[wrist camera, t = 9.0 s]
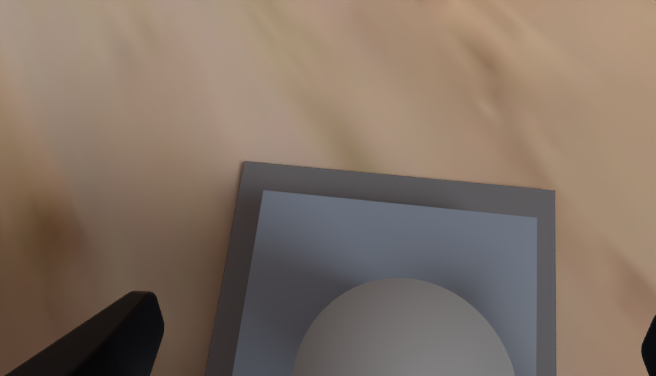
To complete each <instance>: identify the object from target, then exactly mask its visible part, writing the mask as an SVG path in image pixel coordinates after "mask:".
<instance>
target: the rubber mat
mask: <svg viewBox="0 0 656 376" xmlns="http://www.w3.org/2000/svg"><path fill="white" fill-rule="evenodd" d="M263 190H267V191H277V192H287V193H297V194H307V195H316V196H326V197H336V198H346V199H356V200H366V201H376V202H386V203H396V204H406V205H415V206H425V207H435V208H445V209H455V210H465V211H475V212H485V213H495V214H504V215H514V216H524V217H534V218H537V340H536V376H556V265H555V190H544V189H533V188H523V187H512V186H501V185H491V184H480V183H470V182H459V181H448V180H438V179H427V178H416V177H406V176H395V175H385V174H374V173H363V172H353V171H342V170H331V169H321V168H310V167H300V166H289V165H278V164H268V163H257V162H246V161H245V162H244V167H243V172H242V178H241V183H240V189H239V194H238V199H237V205H236V210H235V216H234V221H233V226H232V232H231V237H230V243H229V248H228V254H227V259H226V264H225V270H224V275H223V281H222V286H221V291H220V297H219V302H218V308H217V313H216V319H215V324H214V329H213V335H212V340H211V346H210V351H209V356H208V362H207V367H206V373H205V376H232V373H233V368H234V362H235V356H236V350H237V344H238V338H239V332H240V326H241V320H242V314H243V309H244V303H245V297H246V291H247V285H248V279H249V273H250V267H251V261H252V255H253V250H254V244H255V238H256V232H257V226H258V220H259V214H260V208H261V202H262V196H263Z"/></svg>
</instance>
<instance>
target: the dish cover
mask: <svg viewBox="0 0 656 376" xmlns="http://www.w3.org/2000/svg"><path fill="white" fill-rule="evenodd" d="M536 340H537V218H534V217H524V216H514V215H504V214H495V213H485V212H475V211H465V210H455V209H445V208H435V207H425V206H415V205H406V204H396V203H386V202H376V201H366V200H356V199H346V198H336V197H326V196H316V195H307V194H297V193H287V192H277V191H267V190H263V196H262V202H261V208H260V214H259V220H258V226H257V232H256V238H255V244H254V250H253V255H252V261H251V267H250V273H249V279H248V285H247V291H246V297H245V303H244V309H243V314H242V320H241V326H240V332H239V338H238V344H237V350H236V356H235V362H234V368H233V373H232V376H536Z"/></svg>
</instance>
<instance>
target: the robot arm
mask: <svg viewBox="0 0 656 376" xmlns="http://www.w3.org/2000/svg"><path fill="white" fill-rule="evenodd" d="M163 333H164V321H163V317H162V314H161V311H160V307H159V304H158V300H157V297H156V295H155V294H154V293H153V292H150V291H132V292H130V293H128V294H126V295H125V296H123V297H122V298H120V299H119V300H117V301H116V302H114V303H113V304H111V305H110V306H108V307H107V308H105V309H104V310H102V311H101V312H99V313H98V314H96V315H95V316H93V317H92V318H90V319H89V320H87V321H86V322H84V323H83V324H81V325H80V326H78V327H77V328H75V329H74V330H72V331H71V332H69V333H68V334H66V335H65V336H63V337H62V338H60V339H59V340H57V341H56V342H54V343H53V344H51V345H50V346H48V347H47V348H45V349H44V350H42V351H41V352H39V353H38V354H36V355H35V356H33V357H32V358H30V359H29V360H27V361H26V362H24V363H23V364H21V365H20V366H18V367H17V368H15V369H14V370H12V371H11V372H10V373H8V374H7V375H5V376H150V374H151V371H152V368H153V364H154V361H155V358H156V355H157V352H158V349H159V346H160V343H161V340H162V337H163ZM641 352H642V358H643V361H644V364H645V366H646V369H647V371H648V374H649V376H656V315H655V316H654V318H653V320H652V323H651V325H650V327H649V329H648V332H647V334H646V336H645V338H644V341H643V343H642V348H641Z"/></svg>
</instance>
